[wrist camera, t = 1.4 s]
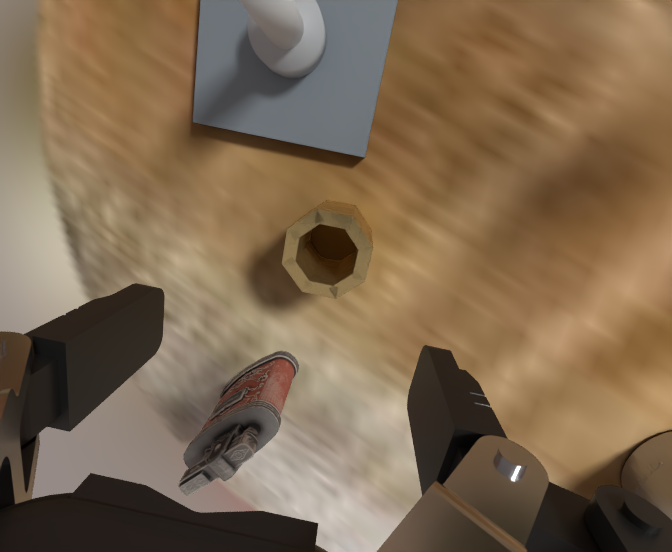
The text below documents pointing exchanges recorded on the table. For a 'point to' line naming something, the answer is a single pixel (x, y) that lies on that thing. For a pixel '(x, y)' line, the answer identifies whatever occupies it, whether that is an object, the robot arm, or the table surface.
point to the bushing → (323, 272)
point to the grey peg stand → (293, 69)
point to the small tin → (240, 421)
